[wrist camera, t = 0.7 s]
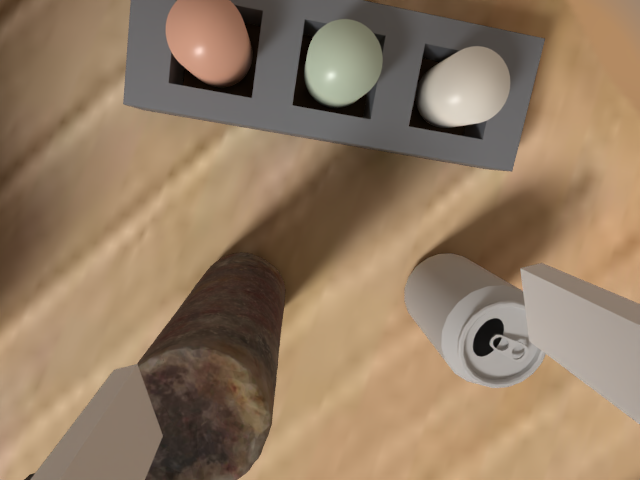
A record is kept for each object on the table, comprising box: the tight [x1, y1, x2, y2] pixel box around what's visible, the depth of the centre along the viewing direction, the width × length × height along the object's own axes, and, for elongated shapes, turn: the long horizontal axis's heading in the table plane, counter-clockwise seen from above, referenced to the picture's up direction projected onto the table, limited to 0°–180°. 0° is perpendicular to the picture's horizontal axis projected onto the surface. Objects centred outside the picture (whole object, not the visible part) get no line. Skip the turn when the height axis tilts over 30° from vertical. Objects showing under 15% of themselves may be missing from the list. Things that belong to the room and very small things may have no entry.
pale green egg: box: [304, 19, 383, 108], centre depth 30 cm, size 5×5×5 cm
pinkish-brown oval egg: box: [166, 0, 253, 88], centre depth 29 cm, size 5×5×5 cm
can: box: [405, 253, 546, 388], centre depth 34 cm, size 8×8×12 cm
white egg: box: [416, 46, 510, 128], centre depth 31 cm, size 5×5×5 cm
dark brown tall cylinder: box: [138, 253, 285, 480], centre depth 28 cm, size 8×7×20 cm
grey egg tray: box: [123, 0, 545, 171], centre depth 33 cm, size 30×10×4 cm, turn 81°
